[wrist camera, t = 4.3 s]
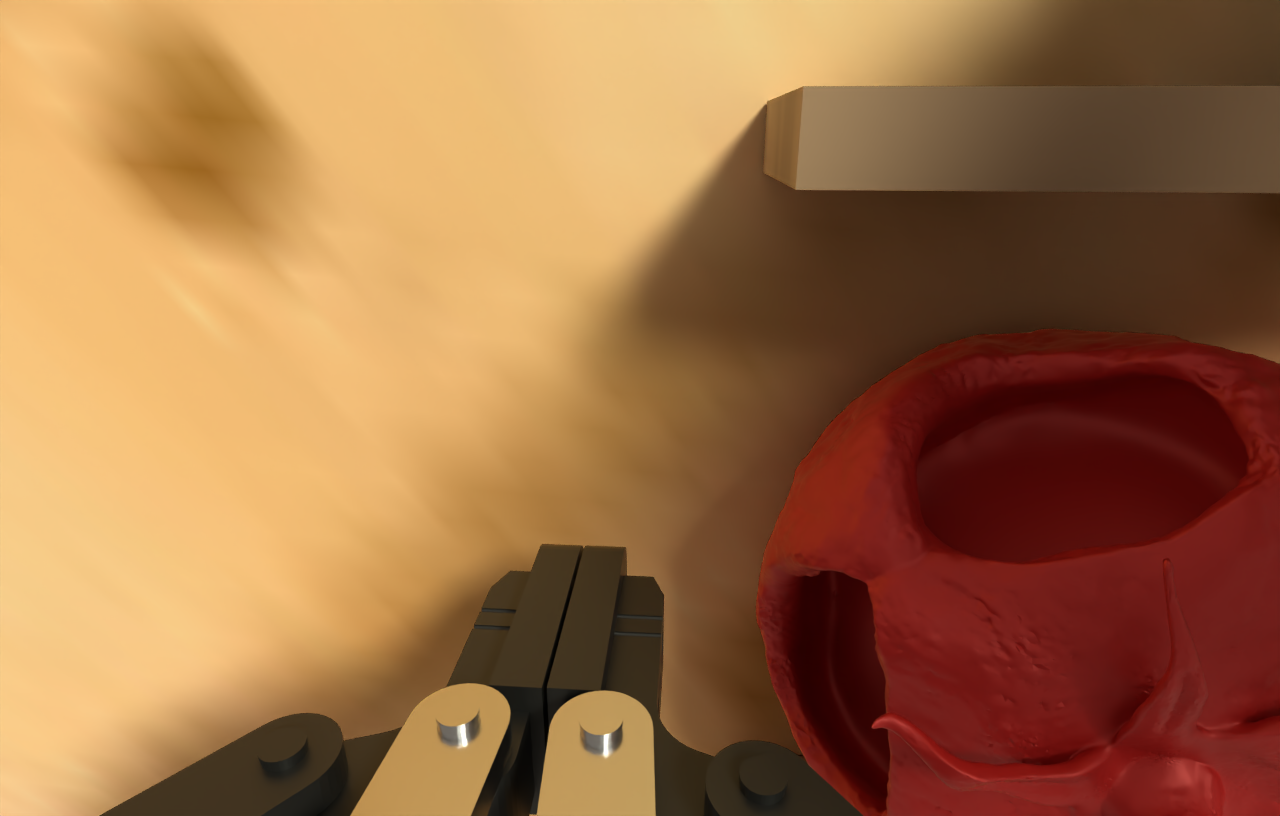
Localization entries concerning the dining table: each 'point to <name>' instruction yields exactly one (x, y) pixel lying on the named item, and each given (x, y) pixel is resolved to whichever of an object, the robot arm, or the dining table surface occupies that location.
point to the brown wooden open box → (1026, 139)
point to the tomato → (1039, 583)
